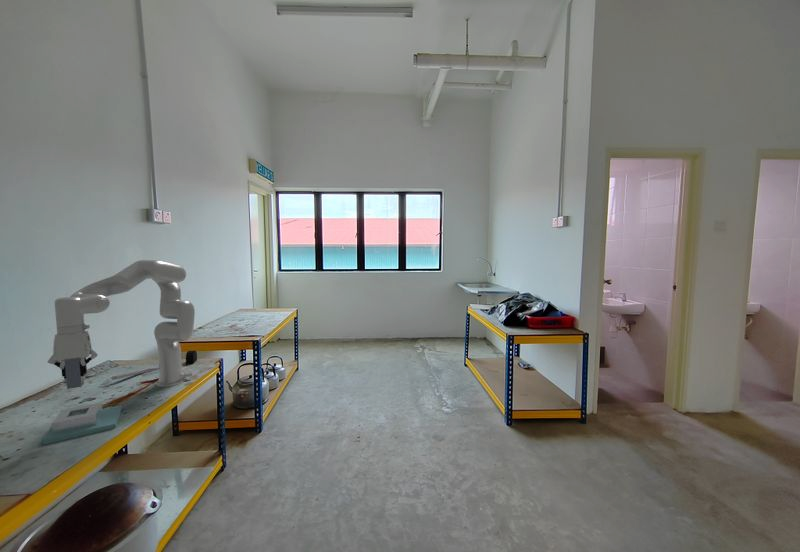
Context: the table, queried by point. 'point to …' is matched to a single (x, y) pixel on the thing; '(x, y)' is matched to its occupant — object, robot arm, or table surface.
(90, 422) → the chuck block
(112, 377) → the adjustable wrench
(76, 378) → the key pin
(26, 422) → the table surface
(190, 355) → the tape measure
